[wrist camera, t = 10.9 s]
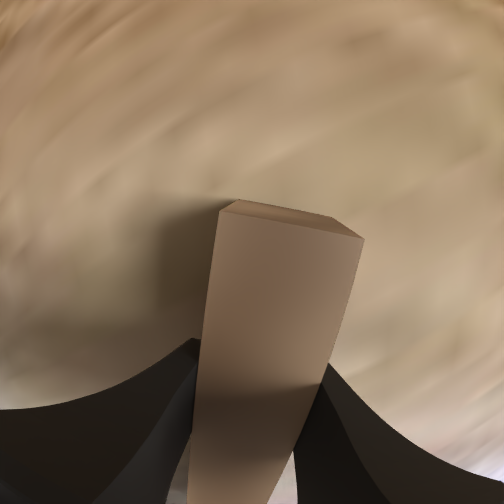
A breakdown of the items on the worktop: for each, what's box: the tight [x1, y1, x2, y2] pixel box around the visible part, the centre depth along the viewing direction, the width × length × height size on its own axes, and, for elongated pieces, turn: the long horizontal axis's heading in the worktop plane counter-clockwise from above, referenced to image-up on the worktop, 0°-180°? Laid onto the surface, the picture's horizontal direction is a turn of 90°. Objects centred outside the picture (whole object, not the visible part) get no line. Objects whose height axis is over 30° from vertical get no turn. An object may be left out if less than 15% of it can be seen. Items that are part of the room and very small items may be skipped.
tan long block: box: [186, 199, 364, 504], centre depth 10 cm, size 3×16×4 cm, turn 170°
